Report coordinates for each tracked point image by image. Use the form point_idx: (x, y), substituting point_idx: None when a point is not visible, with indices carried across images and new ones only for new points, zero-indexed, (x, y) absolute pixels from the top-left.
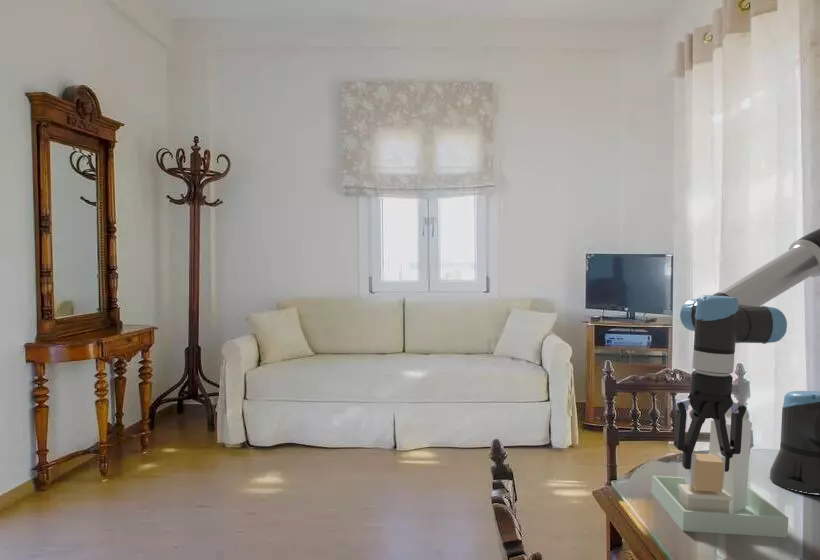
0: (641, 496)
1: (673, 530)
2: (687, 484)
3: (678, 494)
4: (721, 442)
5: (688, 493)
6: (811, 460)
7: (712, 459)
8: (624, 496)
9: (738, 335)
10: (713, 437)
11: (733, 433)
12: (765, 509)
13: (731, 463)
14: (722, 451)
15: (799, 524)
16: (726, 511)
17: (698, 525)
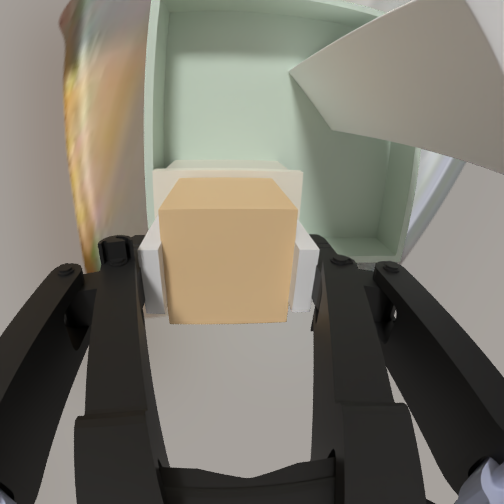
0: (133, 26)
1: (147, 225)
2: (185, 171)
3: (238, 11)
4: (317, 337)
5: None
6: None
7: (250, 293)
8: (88, 41)
9: None
10: (399, 34)
11: (407, 367)
12: (401, 168)
13: (394, 130)
14: (319, 289)
15: (445, 164)
16: None
17: None
